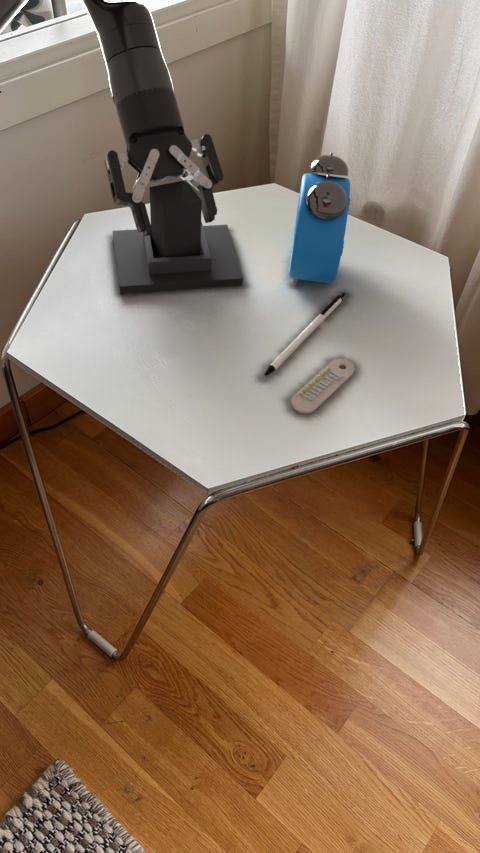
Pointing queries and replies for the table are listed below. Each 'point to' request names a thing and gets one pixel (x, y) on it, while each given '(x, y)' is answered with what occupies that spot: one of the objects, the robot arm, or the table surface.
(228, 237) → the base pad
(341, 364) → the keychain
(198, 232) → the pad block
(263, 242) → the table surface
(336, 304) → the pen
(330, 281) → the alarm clock
